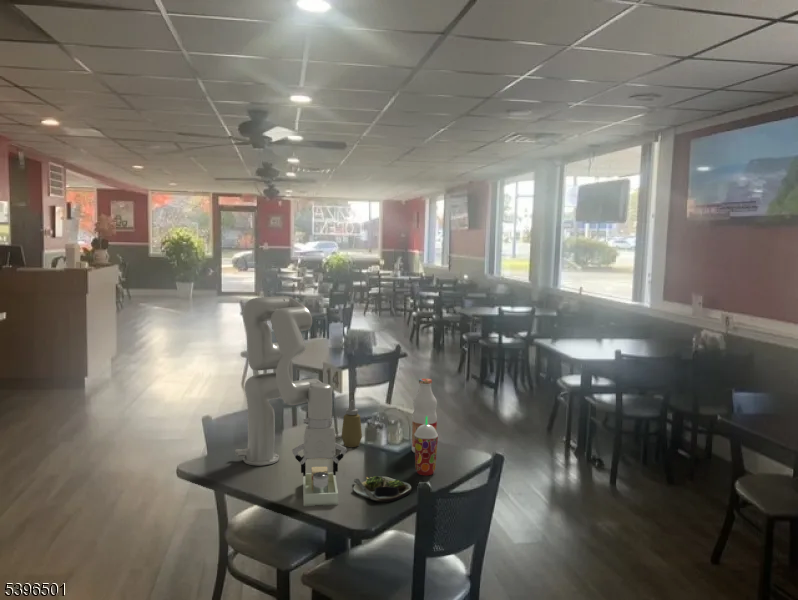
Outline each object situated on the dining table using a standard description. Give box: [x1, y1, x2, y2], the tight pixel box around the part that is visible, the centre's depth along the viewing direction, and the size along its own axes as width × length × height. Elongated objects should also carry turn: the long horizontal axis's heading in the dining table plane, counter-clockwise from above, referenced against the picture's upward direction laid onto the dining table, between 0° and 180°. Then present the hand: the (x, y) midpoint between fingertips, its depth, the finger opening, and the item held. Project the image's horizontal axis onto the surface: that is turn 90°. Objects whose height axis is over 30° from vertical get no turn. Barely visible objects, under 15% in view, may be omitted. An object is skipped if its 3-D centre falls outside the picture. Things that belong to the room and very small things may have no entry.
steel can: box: [313, 472, 329, 494], centre depth 200 cm, size 5×5×7 cm
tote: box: [302, 471, 339, 507], centre depth 204 cm, size 10×18×4 cm, turn 9°
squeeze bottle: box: [341, 399, 363, 448], centre depth 252 cm, size 8×8×18 cm
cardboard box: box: [311, 466, 329, 491], centre depth 208 cm, size 5×5×6 cm
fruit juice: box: [411, 378, 438, 454], centre depth 246 cm, size 9×9×28 cm
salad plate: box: [353, 475, 412, 503], centre depth 208 cm, size 19×18×5 cm
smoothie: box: [414, 416, 439, 477], centre depth 224 cm, size 8×8×20 cm
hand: (319, 474), depth 207 cm, fingers open, 9 cm apart
